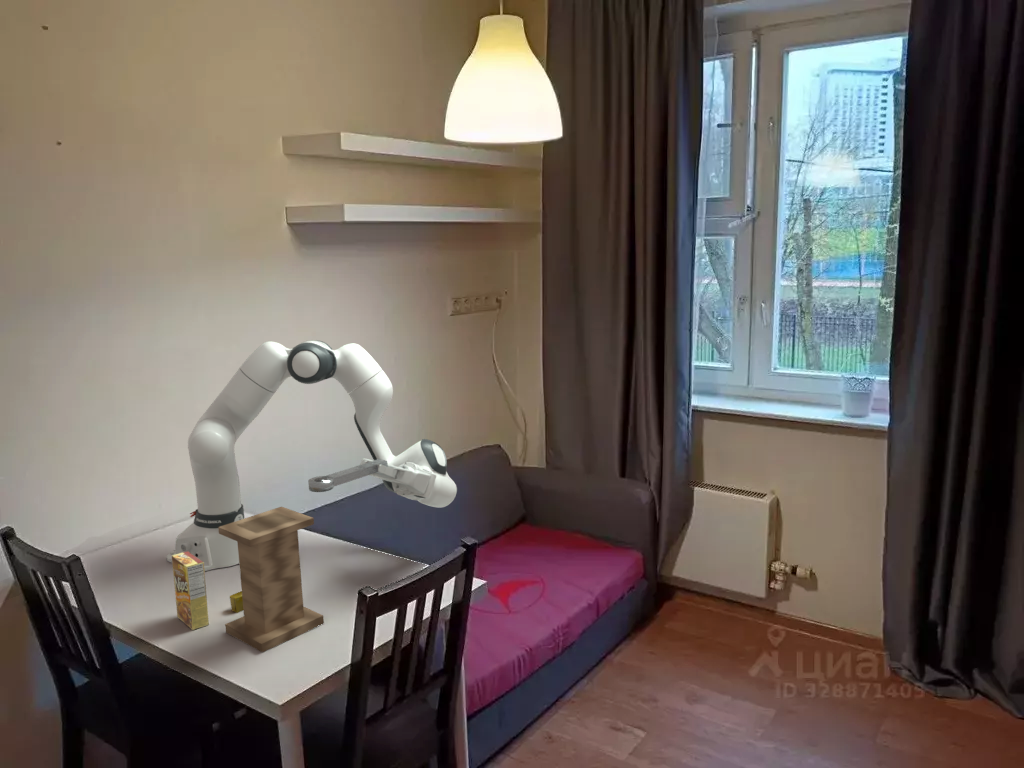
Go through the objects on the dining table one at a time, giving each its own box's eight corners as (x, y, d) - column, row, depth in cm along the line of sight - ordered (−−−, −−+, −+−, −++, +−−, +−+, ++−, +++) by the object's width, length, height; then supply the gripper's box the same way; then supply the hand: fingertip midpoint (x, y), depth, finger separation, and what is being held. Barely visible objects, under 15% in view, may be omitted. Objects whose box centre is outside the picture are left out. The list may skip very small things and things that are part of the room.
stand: (286, 606, 197) (278, 505, 192) (323, 623, 189) (316, 518, 184) (226, 632, 185) (215, 526, 180) (262, 652, 177) (252, 541, 172)
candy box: (176, 617, 193) (169, 555, 190) (194, 611, 196) (188, 550, 193) (192, 631, 186) (185, 566, 183) (210, 624, 189) (204, 561, 186)
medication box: (273, 592, 205) (272, 577, 204) (280, 595, 204) (279, 580, 203) (230, 610, 196) (228, 594, 195) (236, 614, 194) (235, 598, 194)
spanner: (376, 465, 208) (375, 457, 208) (391, 469, 205) (391, 461, 204) (303, 489, 192) (303, 480, 192) (319, 493, 188) (318, 485, 188)
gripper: (386, 461, 221) (348, 446, 211) (441, 475, 208) (404, 460, 198) (378, 484, 220) (340, 470, 209) (433, 500, 207) (395, 486, 196)
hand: (371, 465), depth 203 cm, fingers closed on spanner, 3 cm apart
